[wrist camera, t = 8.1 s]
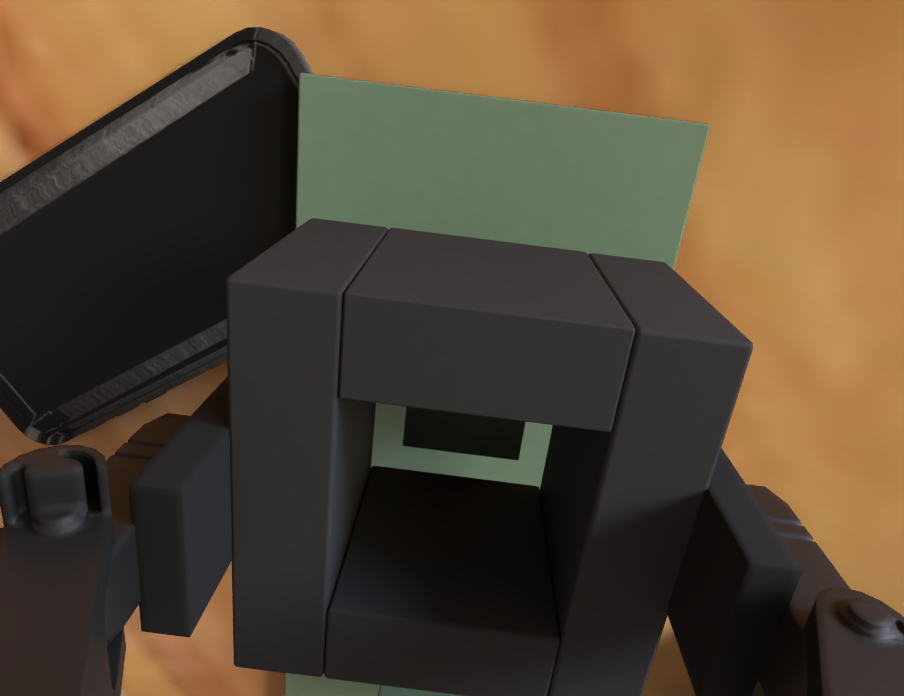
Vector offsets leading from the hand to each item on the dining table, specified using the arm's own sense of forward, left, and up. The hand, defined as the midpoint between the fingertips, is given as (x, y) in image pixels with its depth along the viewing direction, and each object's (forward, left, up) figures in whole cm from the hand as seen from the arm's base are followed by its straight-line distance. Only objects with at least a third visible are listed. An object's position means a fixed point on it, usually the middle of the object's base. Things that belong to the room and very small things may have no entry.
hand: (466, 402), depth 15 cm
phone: (+1, +10, -6) cm, 12 cm away
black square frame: (0, 0, 0) cm, 0 cm away
